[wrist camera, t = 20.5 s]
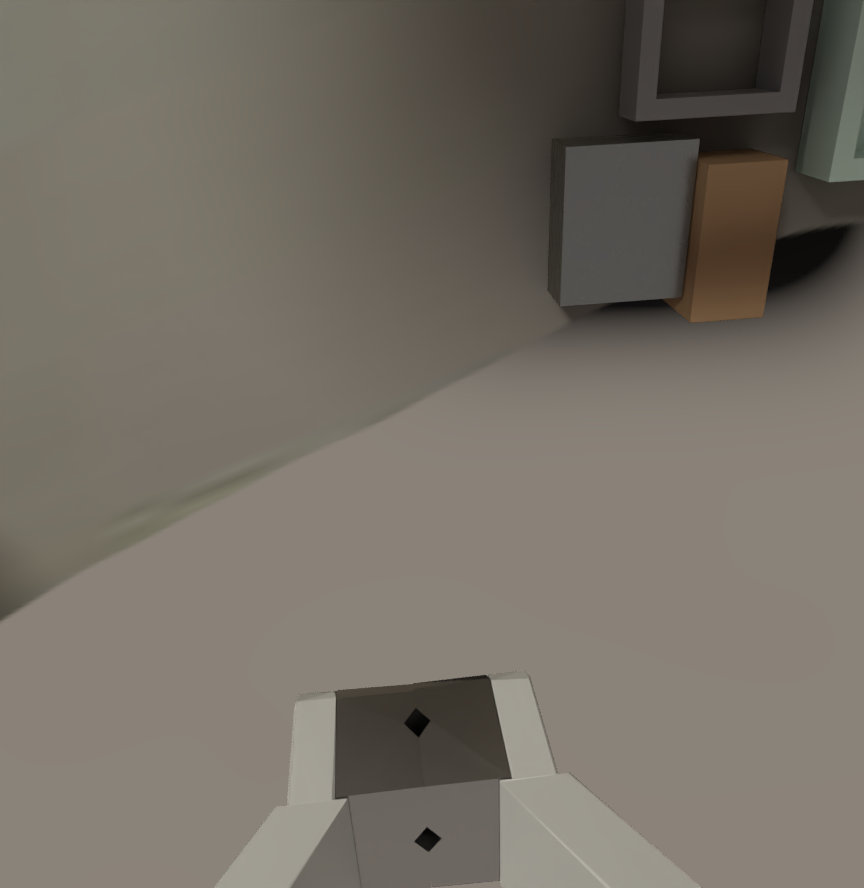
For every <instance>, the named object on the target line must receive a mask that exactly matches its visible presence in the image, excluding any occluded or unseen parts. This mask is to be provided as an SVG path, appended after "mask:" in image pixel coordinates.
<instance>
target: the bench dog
mask: <svg viewBox="0 0 864 888" xmlns="http://www.w3.org/2000/svg"><path fill="white" fill-rule="evenodd" d="M788 162H789V160H788V159H785V158H781V157H778V156H774V155H771V154H768V153H764V152H761V151H758V150H754V149H736V150H720V151H704V152H698V160H697V169H696V178H695V186H694V195H693V204H692V213H691V222H690V230H689V239H688V248H687V257H686V266H685V274H684V283H683V292H682V297H679V298H665V299H663V300H664V301H665V302H666V303H667V304H669V305H670V306H671V307H672V308H673V309H674V310H676V311H677V312H678V313H679V314H680V315H682V316H683V317H684V318H685V319H686V320H687V321H688V322H690V323H696V322H709V321H721V320H734V319H747V318H760V317H763V313H764V307H765V301H766V295H767V289H768V283H769V277H770V271H771V265H772V259H773V253H774V246H775V241H776V235H777V228H778V222H779V216H780V210H781V204H782V198H783V192H784V186H785V180H786V174H787V168H788Z"/></svg>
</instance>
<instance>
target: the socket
mask: <svg viewBox="0 0 864 888" xmlns="http://www.w3.org/2000/svg"><path fill="white" fill-rule="evenodd" d="M664 1H665V0H626V7H625V22H624V38H623V53H622V69H621V85H620V100H619V116H620V117H623V118H626V119H629V120H632V121H635V122H636V121H653V120H669V119H685V118H702V117H718V116H735V115H751V114H768V113H784V112H795V111H796V105H797V99H798V93H799V87H800V81H801V75H802V69H803V63H804V56H805V50H806V44H807V38H808V32H809V26H810V20H811V14H812V8H813V2H814V0H767V3H766V10H765V18H764V25H763V32H762V39H761V46H760V53H759V61H758V68H757V75H756V82H755V88H750V89H733V90H716V91H699V92H682V93H665V94H657V84H658V72H659V60H660V49H661V37H662V25H663V13H664Z"/></svg>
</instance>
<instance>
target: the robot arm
mask: <svg viewBox="0 0 864 888" xmlns="http://www.w3.org/2000/svg"><path fill="white" fill-rule="evenodd" d="M290 760H291V761H290V772H289V785H288V799H287V805H284V806H277V807H274V809H273V810H272V811H271V813H270V814H269V815H268V817H267V818H266V819H265V821H264V822H263V823H262V825H261V826H260V827H259V828H258V830H257V831H256V832H255V834H254V835H253V836H252V838H251V839H250V840H249V842H248V843H247V844H246V846H245V847H244V848H243V850H242V851H241V852H240V854H239V855H238V856H237V858H236V859H235V860H234V862H233V863H232V864H231V866H230V867H229V868H228V869H227V871H226V872H225V873H224V875H223V876H222V877H221V879H220V880H219V881H218V883H217V884H216V886H215V887H214V888H430V887H431V886H432V887H440V886H451V885H461V884H470V883H471V884H472V883H482V882H493V881H500V885H501V886H502V887H503V888H701V887H700V886H699V885H698V884H697V883H696V882H695V881H694V880H692V879H691V878H690V877H689V876H688V875H687V874H686V873H684V872H683V871H682V870H681V869H680V868H679V867H677V866H676V865H675V864H674V863H673V862H672V861H671V860H670V859H668V858H667V857H666V856H665V855H664V854H663V853H661V852H660V851H659V850H658V849H657V848H656V847H655V846H653V845H652V844H651V843H650V842H649V841H648V840H647V839H645V838H644V837H643V836H642V835H641V834H640V833H638V832H637V831H636V830H635V829H634V828H633V827H632V826H630V825H629V824H628V823H627V822H626V821H625V820H624V819H622V818H621V817H620V816H619V815H618V814H617V813H616V812H614V811H613V810H612V809H611V808H610V807H609V806H608V805H606V804H605V803H604V802H603V801H602V800H601V799H600V798H598V797H597V796H596V795H595V794H594V793H593V792H592V791H590V790H589V789H588V788H587V787H586V786H585V785H584V784H582V783H581V782H580V781H579V780H578V779H577V778H575V777H574V776H573V775H572V774H571V773H559V774H558V771H557V768H556V765H555V761H554V758H553V755H552V751H551V747H550V744H549V740H548V737H547V734H546V730H545V727H544V724H543V720H542V716H541V713H540V709H539V706H538V703H537V699H536V696H535V692H534V689H533V685H532V682H531V679H530V676H529V674H528V673H527V672H526V671H525V670H524V671H515V672H507V673H498V674H490V675H488V677H487V675H480V676H472V677H463V678H455V679H447V680H438V681H429V682H421V683H413V684H409V685H397V686H384V687H371V688H359V689H347V690H338V691H333V692H321V693H308V694H298V696H297V699H296V702H295V706H294V719H293V733H292V746H291V759H290Z"/></svg>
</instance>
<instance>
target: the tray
mask: <svg viewBox="0 0 864 888" xmlns="http://www.w3.org/2000/svg"><path fill="white" fill-rule="evenodd" d="M795 172H798V173H801V174H804V175H807V176H810V177H814V178H817V179H820V180H823V181H826V182H841V181H856V180H864V0H824V4H823V10H822V16H821V22H820V28H819V33H818V39H817V45H816V51H815V57H814V63H813V69H812V75H811V81H810V86H809V92H808V98H807V104H806V110H805V116H804V122H803V128H802V134H801V139H800V145H799V151H798V157H797V163H796V169H795Z"/></svg>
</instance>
